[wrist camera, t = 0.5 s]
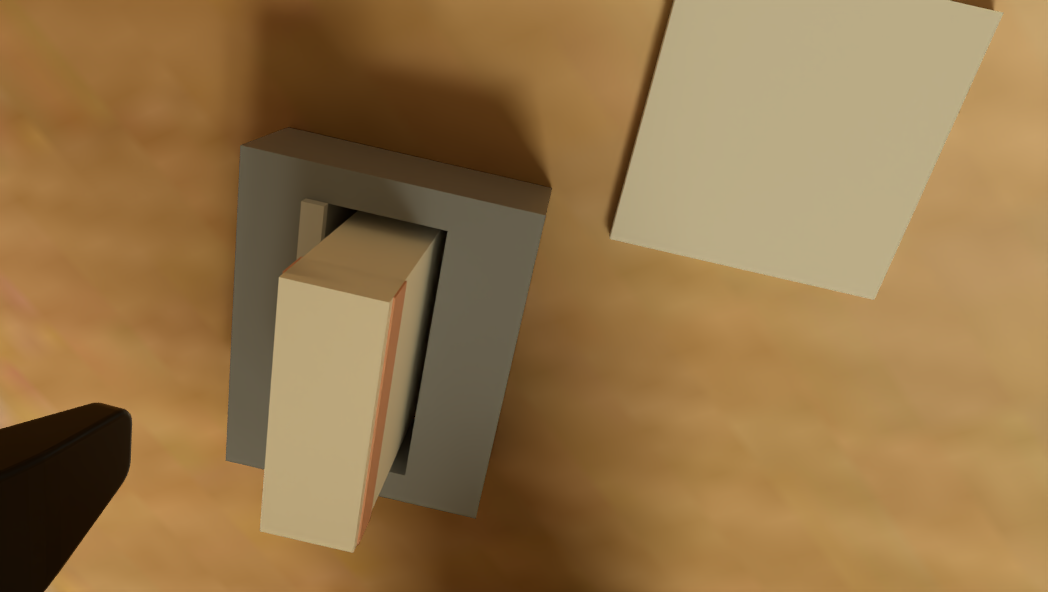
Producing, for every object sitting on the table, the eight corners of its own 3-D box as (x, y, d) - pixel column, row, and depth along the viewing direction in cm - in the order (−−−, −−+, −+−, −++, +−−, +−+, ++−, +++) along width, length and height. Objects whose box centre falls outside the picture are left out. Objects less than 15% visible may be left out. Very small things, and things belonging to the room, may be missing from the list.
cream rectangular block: (419, 406, 24) (355, 553, 17) (348, 390, 24) (257, 530, 17) (453, 214, 21) (391, 303, 15) (373, 196, 21) (276, 276, 15)
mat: (869, 294, 21) (874, 299, 20) (609, 234, 21) (609, 238, 20) (995, 12, 18) (1003, 12, 17) (688, -58, 18) (691, -59, 17)
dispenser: (489, 461, 24) (474, 525, 21) (267, 409, 24) (221, 466, 21) (552, 187, 20) (545, 218, 17) (288, 127, 20) (234, 147, 17)
